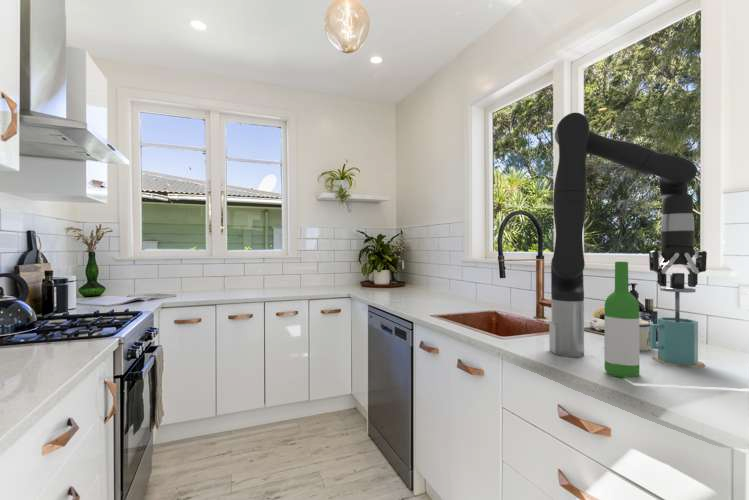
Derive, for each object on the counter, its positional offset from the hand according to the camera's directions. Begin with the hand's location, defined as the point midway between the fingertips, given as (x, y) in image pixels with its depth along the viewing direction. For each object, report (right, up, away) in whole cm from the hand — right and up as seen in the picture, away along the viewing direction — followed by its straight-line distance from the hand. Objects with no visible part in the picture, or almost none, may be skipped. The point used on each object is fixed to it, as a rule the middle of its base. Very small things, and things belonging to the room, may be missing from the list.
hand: (677, 286), depth 107 cm
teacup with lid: (-1, -23, +17) cm, 29 cm away
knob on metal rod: (0, -11, 0) cm, 11 cm away
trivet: (0, -22, 0) cm, 22 cm away
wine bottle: (-23, -23, -10) cm, 33 cm away
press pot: (-1, -22, 0) cm, 22 cm away
